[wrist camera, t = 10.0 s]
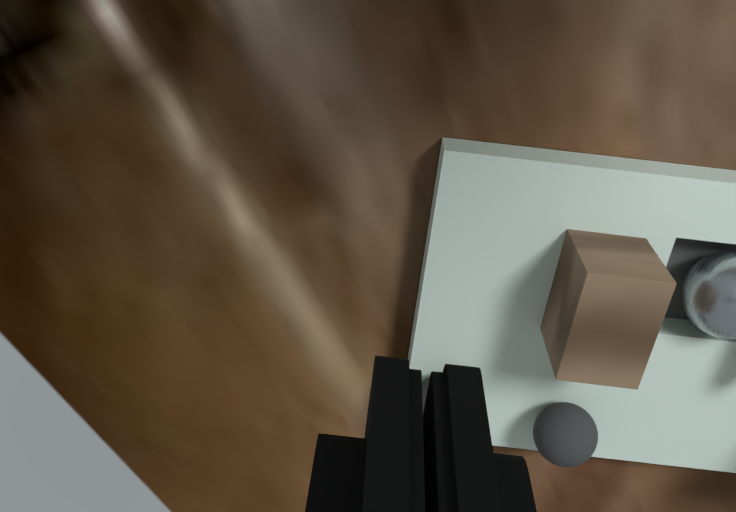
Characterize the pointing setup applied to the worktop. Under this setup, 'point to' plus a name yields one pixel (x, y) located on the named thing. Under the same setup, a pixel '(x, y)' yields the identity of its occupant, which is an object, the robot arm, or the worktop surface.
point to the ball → (565, 434)
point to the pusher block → (605, 308)
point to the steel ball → (712, 295)
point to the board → (533, 284)
